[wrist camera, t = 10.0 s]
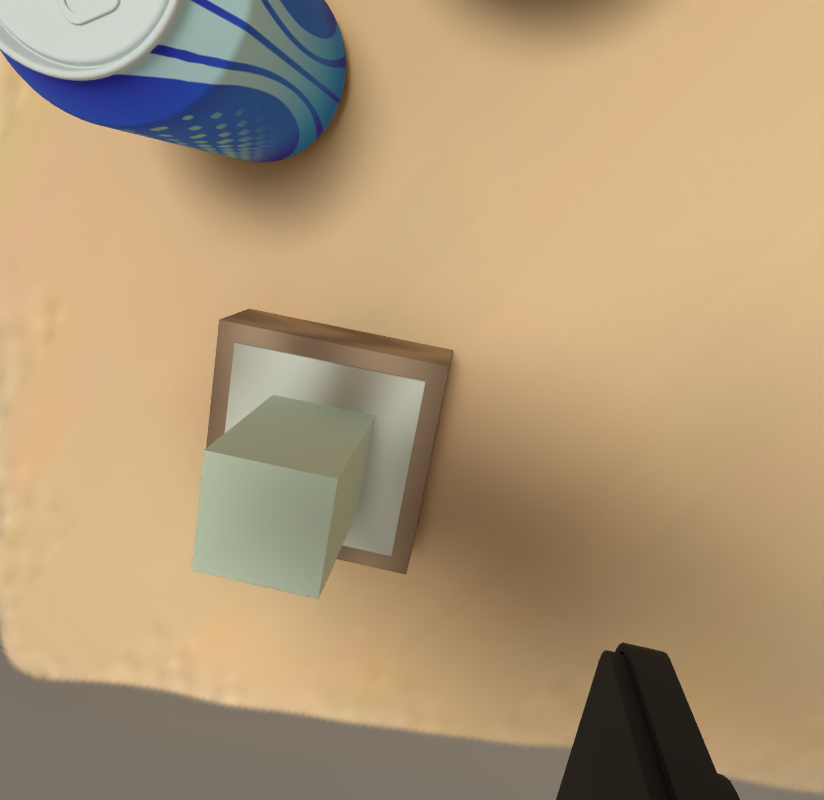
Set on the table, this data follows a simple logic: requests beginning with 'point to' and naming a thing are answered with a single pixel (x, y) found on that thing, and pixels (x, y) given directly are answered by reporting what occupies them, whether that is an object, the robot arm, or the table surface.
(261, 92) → the beer can
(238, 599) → the table surface
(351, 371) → the base block
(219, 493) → the green block
